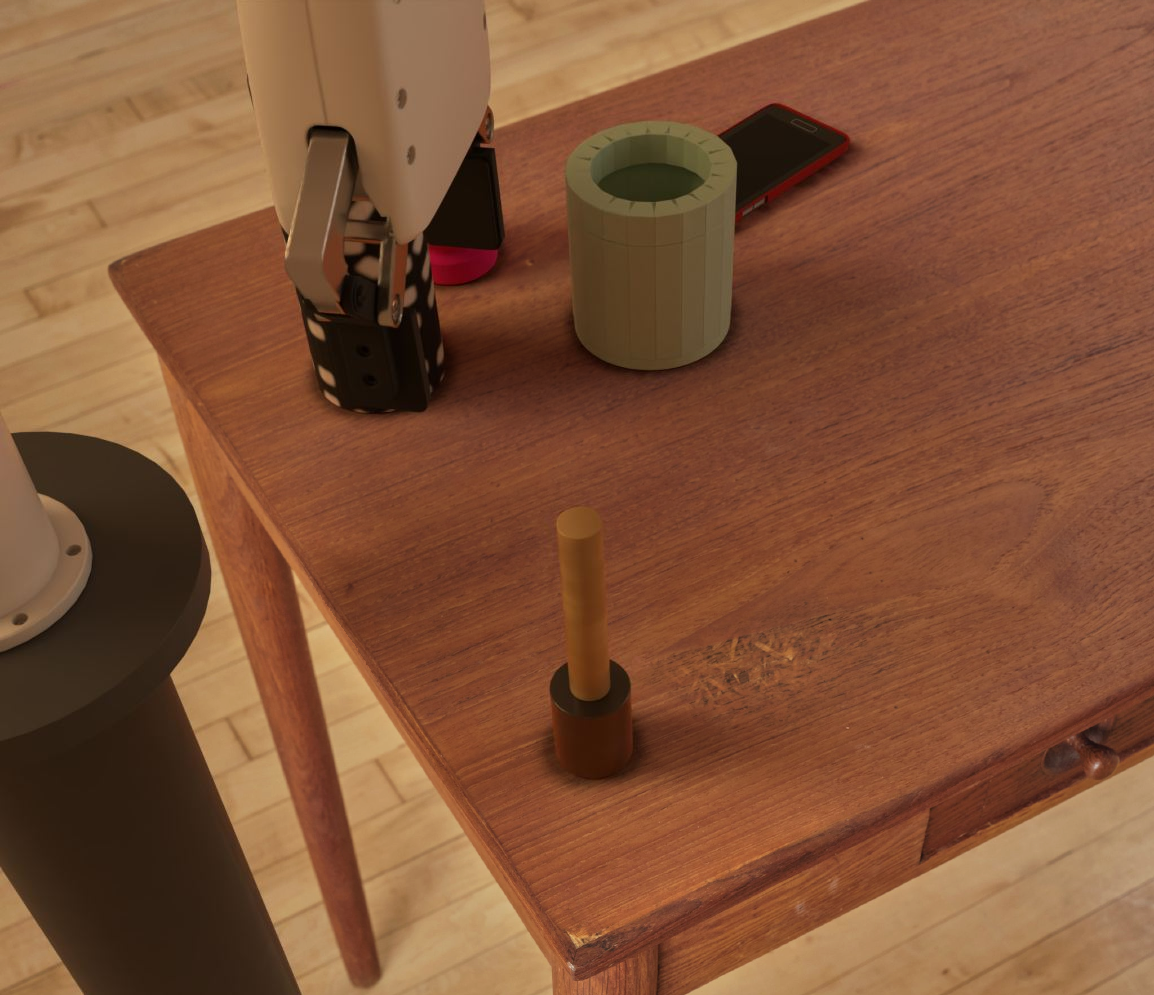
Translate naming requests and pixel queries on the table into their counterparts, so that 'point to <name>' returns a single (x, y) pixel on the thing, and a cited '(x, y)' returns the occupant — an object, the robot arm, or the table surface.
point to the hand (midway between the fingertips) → (428, 319)
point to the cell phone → (778, 153)
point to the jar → (651, 243)
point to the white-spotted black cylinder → (366, 265)
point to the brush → (588, 659)
